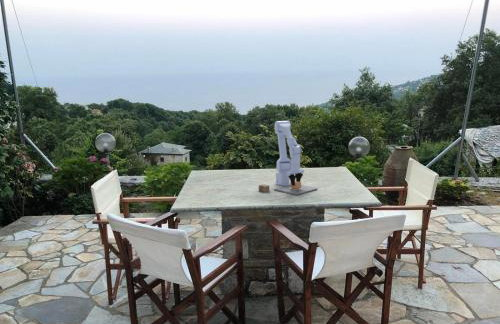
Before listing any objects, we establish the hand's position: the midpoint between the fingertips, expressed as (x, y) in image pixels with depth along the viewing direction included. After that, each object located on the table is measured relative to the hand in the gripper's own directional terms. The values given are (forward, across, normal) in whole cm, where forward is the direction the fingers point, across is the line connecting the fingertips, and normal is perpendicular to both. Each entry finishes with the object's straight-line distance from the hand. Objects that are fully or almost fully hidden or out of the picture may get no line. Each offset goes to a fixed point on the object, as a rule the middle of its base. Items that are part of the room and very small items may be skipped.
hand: (295, 184), depth 256 cm
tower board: (+3, 0, 0) cm, 3 cm away
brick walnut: (+4, -16, +13) cm, 21 cm away
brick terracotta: (+2, 0, 0) cm, 2 cm away
